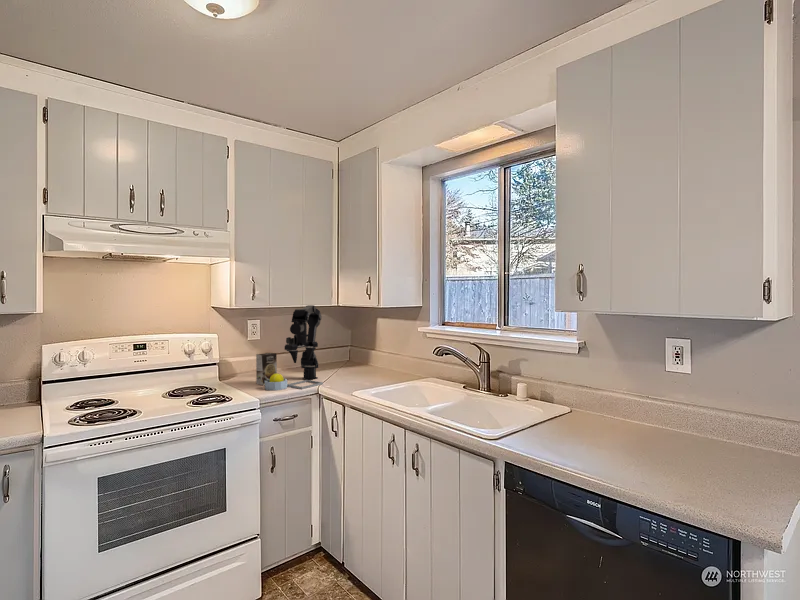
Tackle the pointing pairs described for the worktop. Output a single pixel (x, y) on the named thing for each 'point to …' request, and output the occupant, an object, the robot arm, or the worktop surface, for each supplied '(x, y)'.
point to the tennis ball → (276, 378)
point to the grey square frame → (304, 382)
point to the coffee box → (265, 367)
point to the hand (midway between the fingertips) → (301, 361)
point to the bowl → (275, 385)
